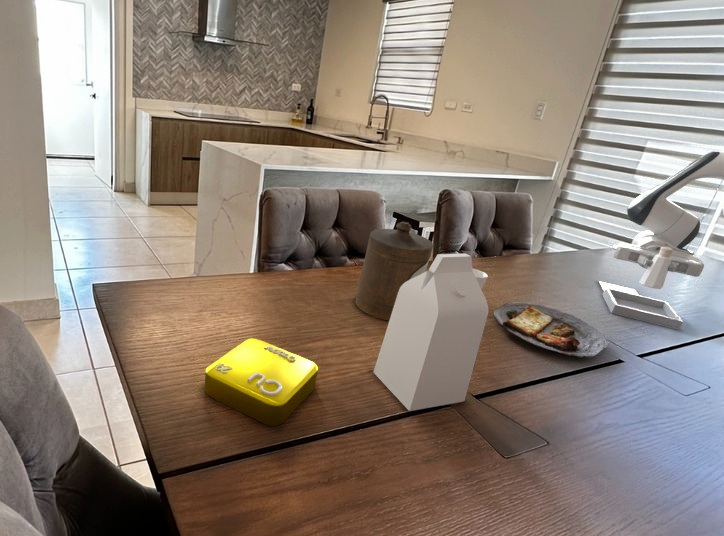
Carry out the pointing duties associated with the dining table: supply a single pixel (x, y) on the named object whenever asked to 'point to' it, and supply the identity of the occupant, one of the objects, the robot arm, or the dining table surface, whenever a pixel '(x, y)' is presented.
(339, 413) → the dining table surface
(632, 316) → the tray
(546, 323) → the food plate
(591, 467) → the dining table surface
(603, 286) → the coaster
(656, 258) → the pepper shaker
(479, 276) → the cup
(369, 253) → the wooden container
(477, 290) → the milk
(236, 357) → the element tile
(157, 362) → the dining table surface
